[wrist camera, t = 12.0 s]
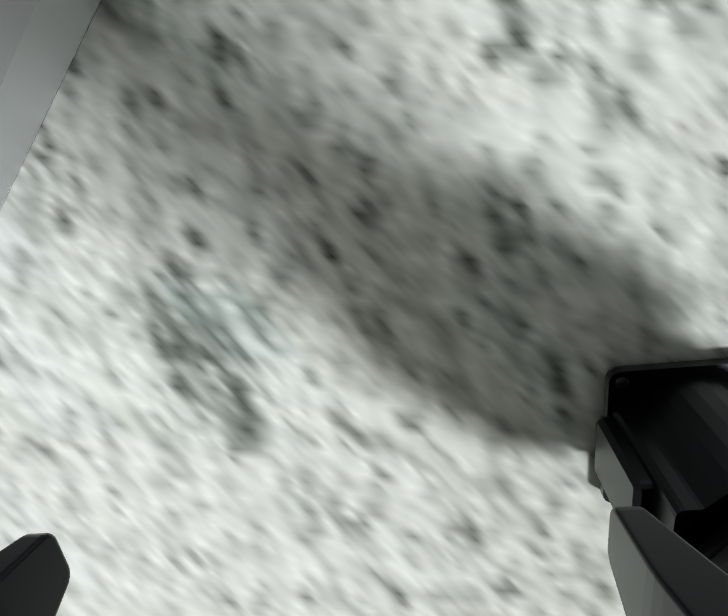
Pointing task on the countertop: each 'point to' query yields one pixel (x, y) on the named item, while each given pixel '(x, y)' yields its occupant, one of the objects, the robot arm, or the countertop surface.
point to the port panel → (33, 70)
